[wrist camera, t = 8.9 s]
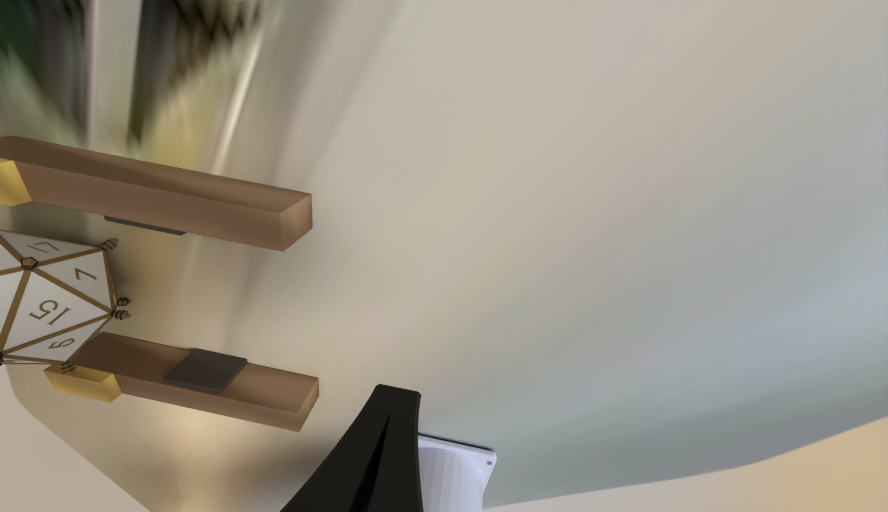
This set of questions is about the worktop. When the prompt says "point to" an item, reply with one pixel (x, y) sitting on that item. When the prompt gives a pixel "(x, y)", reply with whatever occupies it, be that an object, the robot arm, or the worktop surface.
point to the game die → (52, 298)
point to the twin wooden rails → (177, 212)
